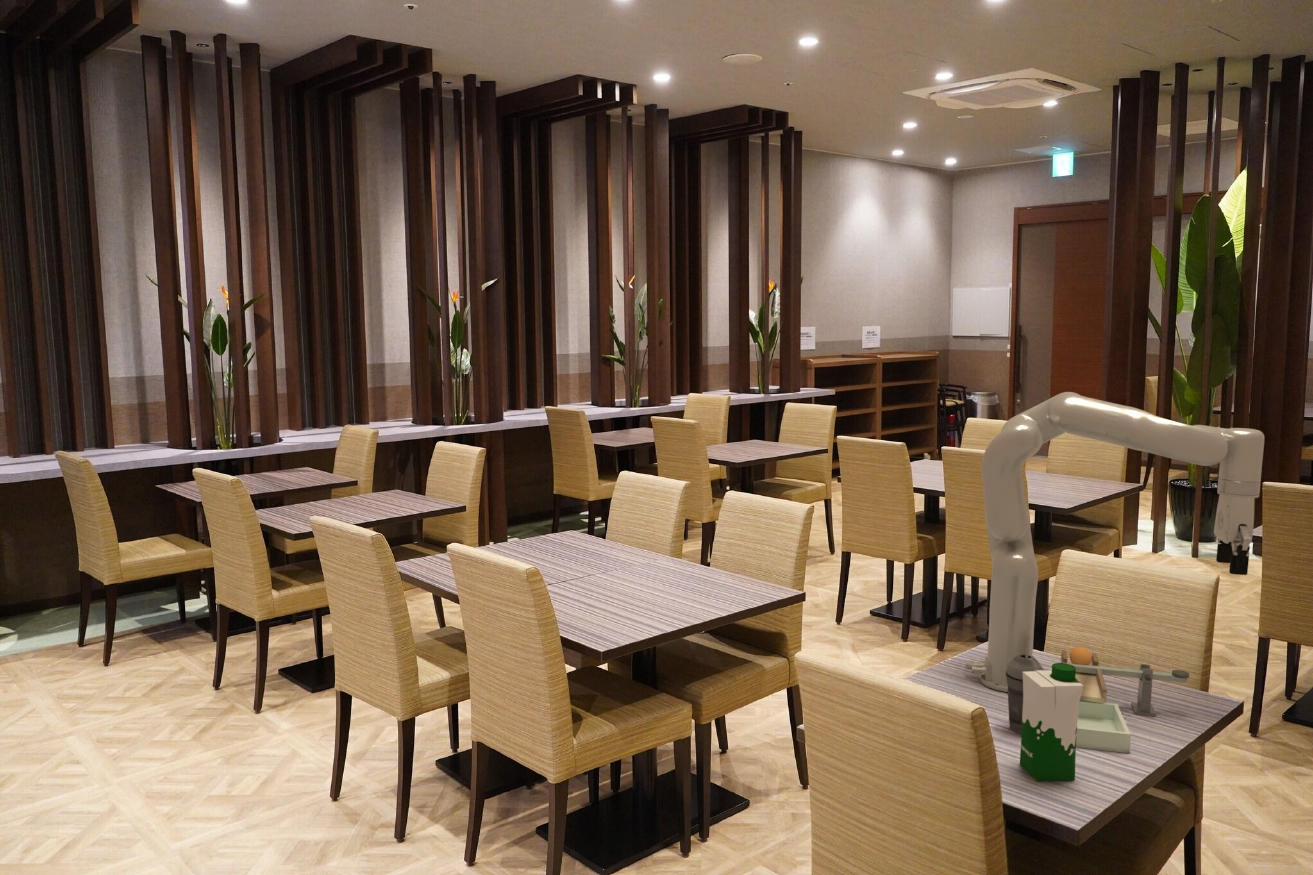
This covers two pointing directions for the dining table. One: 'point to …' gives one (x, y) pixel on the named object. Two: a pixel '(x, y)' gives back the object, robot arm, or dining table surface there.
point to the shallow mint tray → (1102, 727)
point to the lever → (1133, 673)
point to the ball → (1080, 656)
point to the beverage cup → (1018, 686)
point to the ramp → (1090, 681)
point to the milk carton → (1050, 723)
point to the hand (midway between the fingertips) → (1231, 568)
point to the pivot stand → (1144, 693)
